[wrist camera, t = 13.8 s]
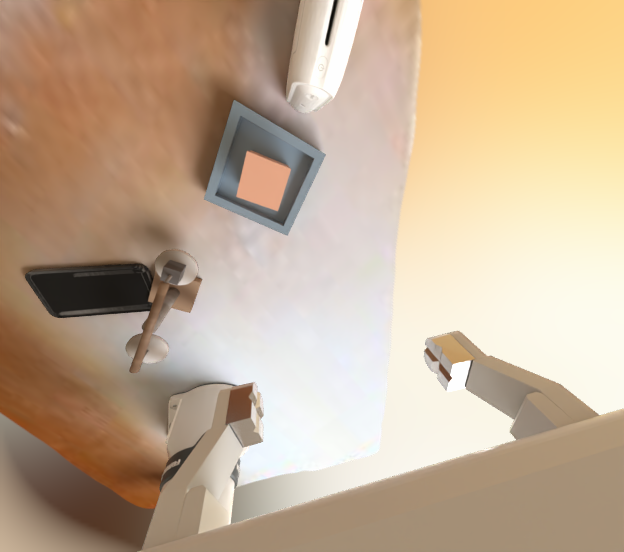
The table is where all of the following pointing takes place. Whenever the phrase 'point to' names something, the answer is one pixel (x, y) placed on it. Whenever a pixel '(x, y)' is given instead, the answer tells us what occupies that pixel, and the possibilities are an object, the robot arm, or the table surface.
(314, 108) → the photo printer
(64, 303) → the phone
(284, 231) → the dish
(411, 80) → the table surface
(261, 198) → the terracotta block
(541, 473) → the robot arm
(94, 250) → the table surface
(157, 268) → the tipped balance
